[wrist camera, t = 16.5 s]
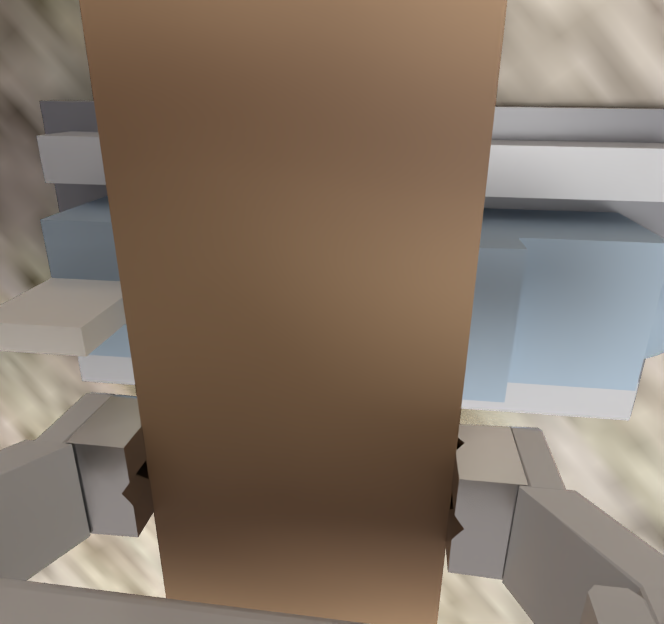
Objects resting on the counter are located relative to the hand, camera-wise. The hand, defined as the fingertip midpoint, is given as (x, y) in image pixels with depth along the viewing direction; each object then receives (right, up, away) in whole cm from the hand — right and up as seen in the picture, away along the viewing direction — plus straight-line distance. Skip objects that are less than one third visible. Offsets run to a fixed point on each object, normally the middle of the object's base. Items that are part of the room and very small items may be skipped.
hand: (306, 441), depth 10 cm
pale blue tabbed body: (+2, +4, +10) cm, 11 cm away
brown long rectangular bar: (0, 0, +2) cm, 2 cm away
